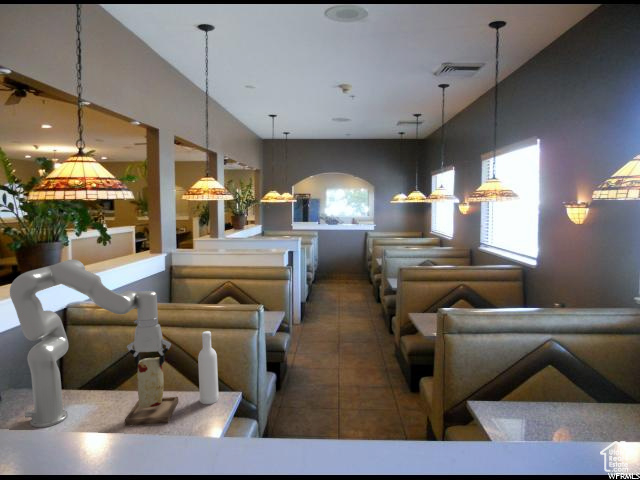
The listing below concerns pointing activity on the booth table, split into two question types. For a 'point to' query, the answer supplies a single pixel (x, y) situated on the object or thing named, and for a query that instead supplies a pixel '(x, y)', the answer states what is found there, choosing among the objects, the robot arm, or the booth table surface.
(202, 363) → the bottle
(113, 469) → the booth table surface
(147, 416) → the serving board
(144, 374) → the food model
